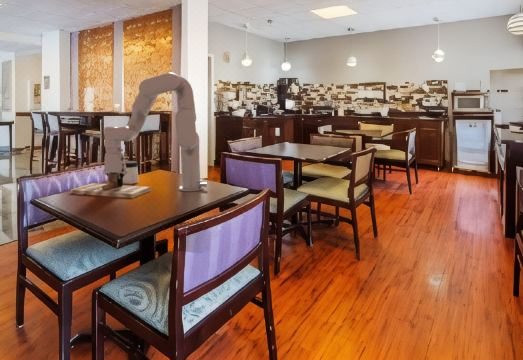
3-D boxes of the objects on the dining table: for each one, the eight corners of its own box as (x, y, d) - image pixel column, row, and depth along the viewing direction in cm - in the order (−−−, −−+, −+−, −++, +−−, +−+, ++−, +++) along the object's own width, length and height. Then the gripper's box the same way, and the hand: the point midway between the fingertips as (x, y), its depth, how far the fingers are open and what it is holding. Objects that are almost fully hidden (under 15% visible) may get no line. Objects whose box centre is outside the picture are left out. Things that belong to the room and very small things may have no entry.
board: (150, 190, 198) (150, 186, 198) (132, 198, 183) (132, 193, 183) (92, 186, 208) (92, 183, 208) (70, 193, 193) (70, 189, 193)
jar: (126, 184, 213) (125, 163, 210) (120, 182, 218) (118, 162, 216) (141, 182, 219) (140, 162, 216) (135, 180, 224) (133, 160, 222)
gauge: (123, 185, 201) (122, 172, 200) (107, 190, 189) (106, 176, 188) (116, 184, 202) (115, 171, 201) (100, 190, 190) (99, 176, 189)
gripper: (132, 150, 196) (134, 184, 200) (104, 149, 201) (107, 183, 205) (123, 152, 189) (126, 188, 193) (94, 151, 194) (98, 186, 198)
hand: (116, 185), depth 199 cm, fingers closed on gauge, 4 cm apart
